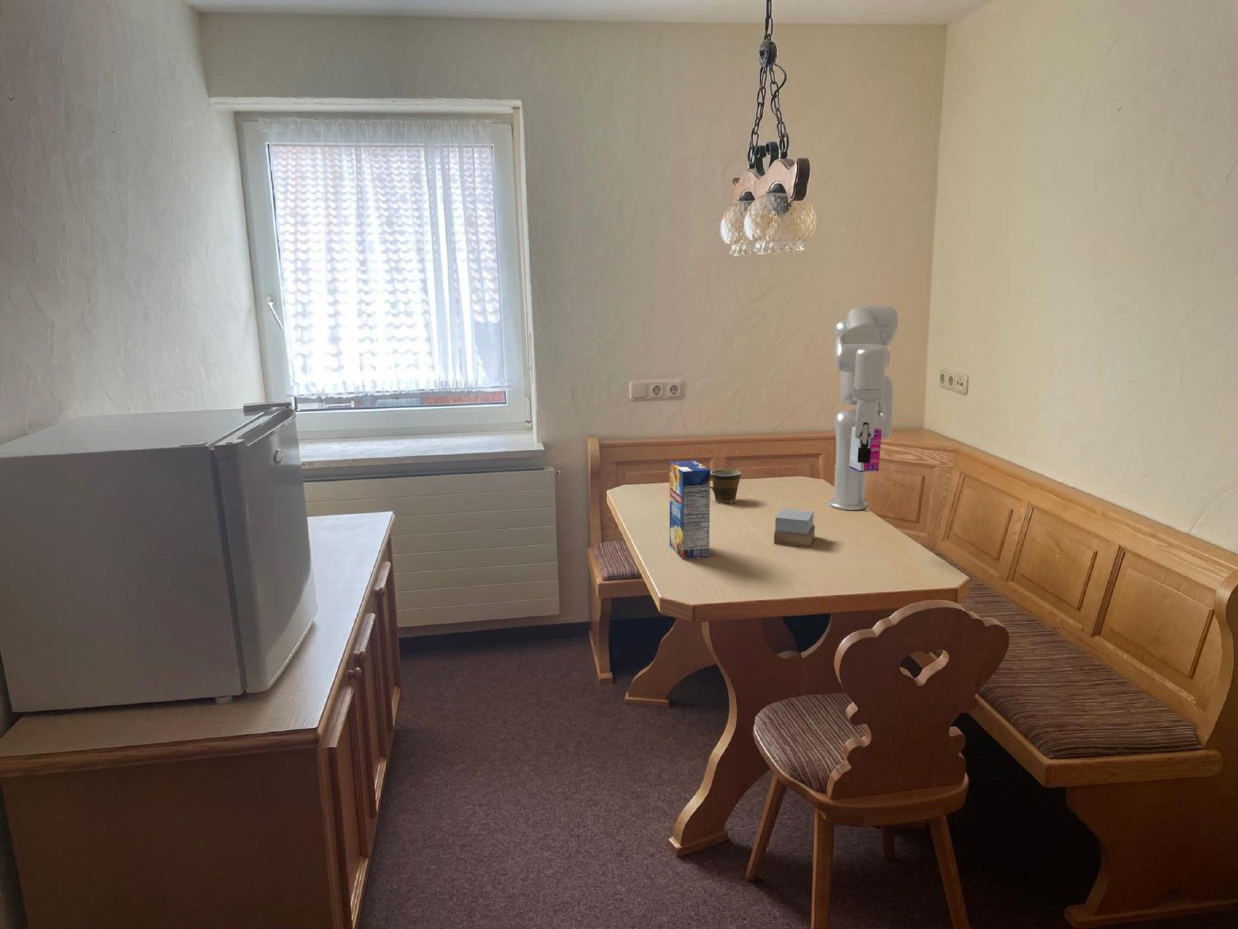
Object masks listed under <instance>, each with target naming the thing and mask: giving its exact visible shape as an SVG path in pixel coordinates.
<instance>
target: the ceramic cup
mask: <svg viewBox="0 0 1238 929" xmlns="http://www.w3.org/2000/svg"><path fill="white" fill-rule="evenodd" d="M741 475H742V473H741V471H739V470H736V469H732V468H731V469H729V468H718V469H714V470H710V482H712V486H711V485H710V490H712V492H713V494H714V499H715V503H717V504H721V503H730V504H733V502H734V503H736V499H737V494H738V488H739V483H740V481H741Z"/></svg>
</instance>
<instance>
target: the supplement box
mask: <svg viewBox="0 0 1238 929" xmlns="http://www.w3.org/2000/svg"><path fill="white" fill-rule="evenodd" d="M868 429H869V426H868ZM862 434H863V431H862ZM869 434H870V432H869ZM881 435H882V430H880V429H877V428H875V433H874V437H873V438H872V439H871V441H870V448H871V457H870V463H859V462H858V447H859V442H860V436H859V437H857V438H855V437H854V436H855V427H852V437H851V451H850V464H849V468H851V469H853V470H855V471H858V472H866V473H868V472H878V471H879V469H880V458H881V457H880V456H881V445H882V444H881V443H882V440H881ZM867 436H868V437H869V435H868V434H867Z"/></svg>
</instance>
